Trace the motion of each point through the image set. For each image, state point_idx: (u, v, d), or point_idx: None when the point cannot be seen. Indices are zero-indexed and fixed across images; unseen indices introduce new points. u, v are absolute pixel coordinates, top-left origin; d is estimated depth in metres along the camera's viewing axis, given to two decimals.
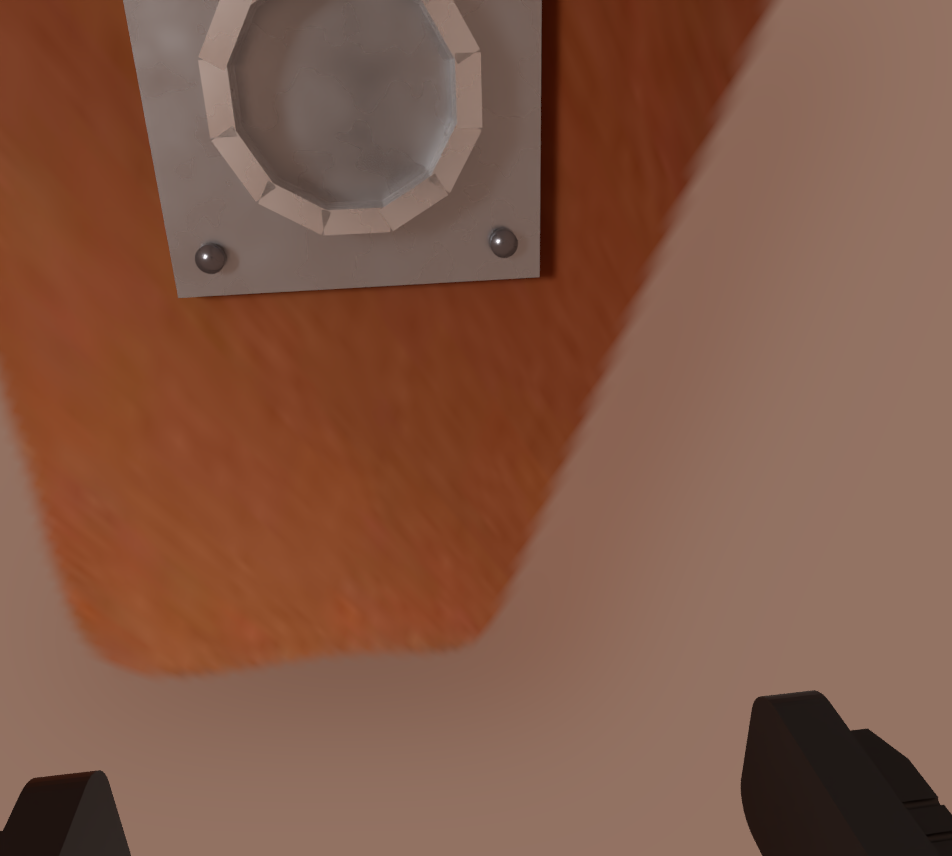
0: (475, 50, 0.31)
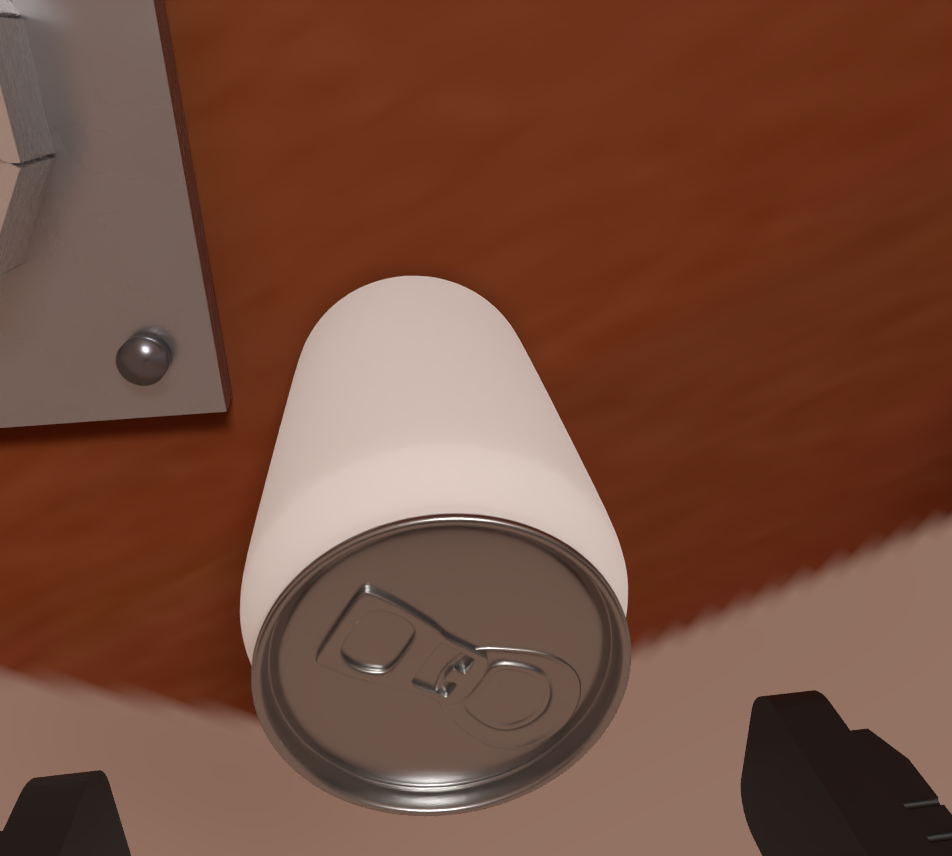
0: None
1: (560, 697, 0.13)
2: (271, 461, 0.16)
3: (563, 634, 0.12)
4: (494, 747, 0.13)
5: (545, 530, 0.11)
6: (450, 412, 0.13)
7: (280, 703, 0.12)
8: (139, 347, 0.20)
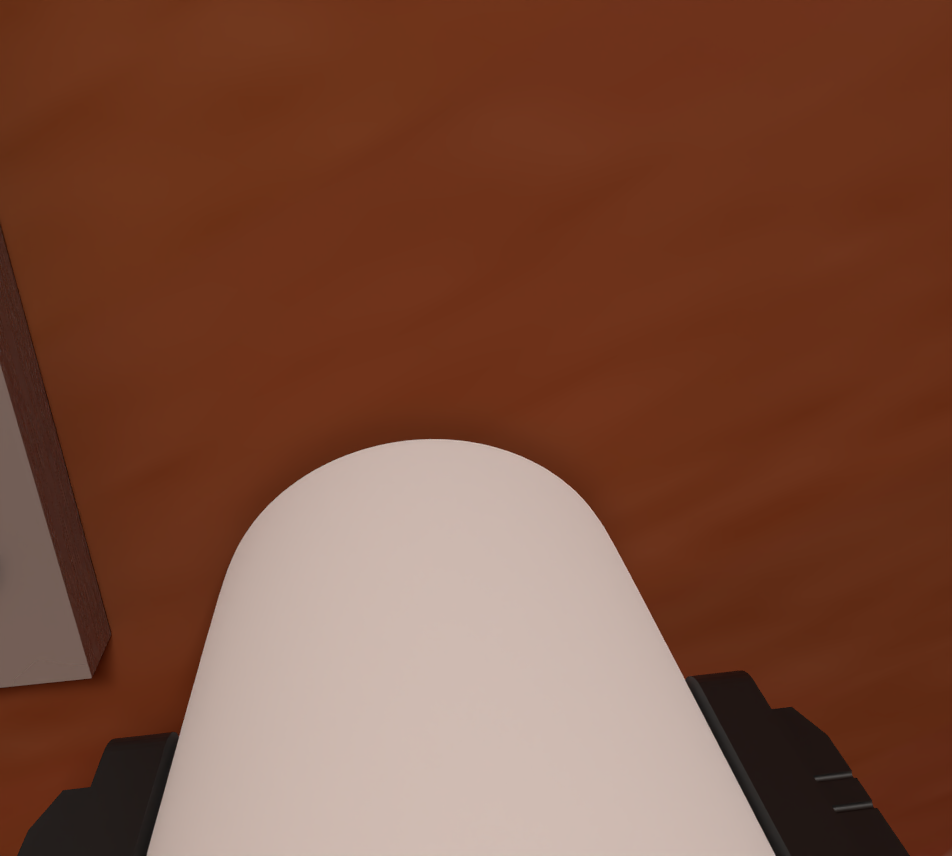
0: None
1: None
2: None
3: None
4: None
5: None
6: None
7: None
8: None
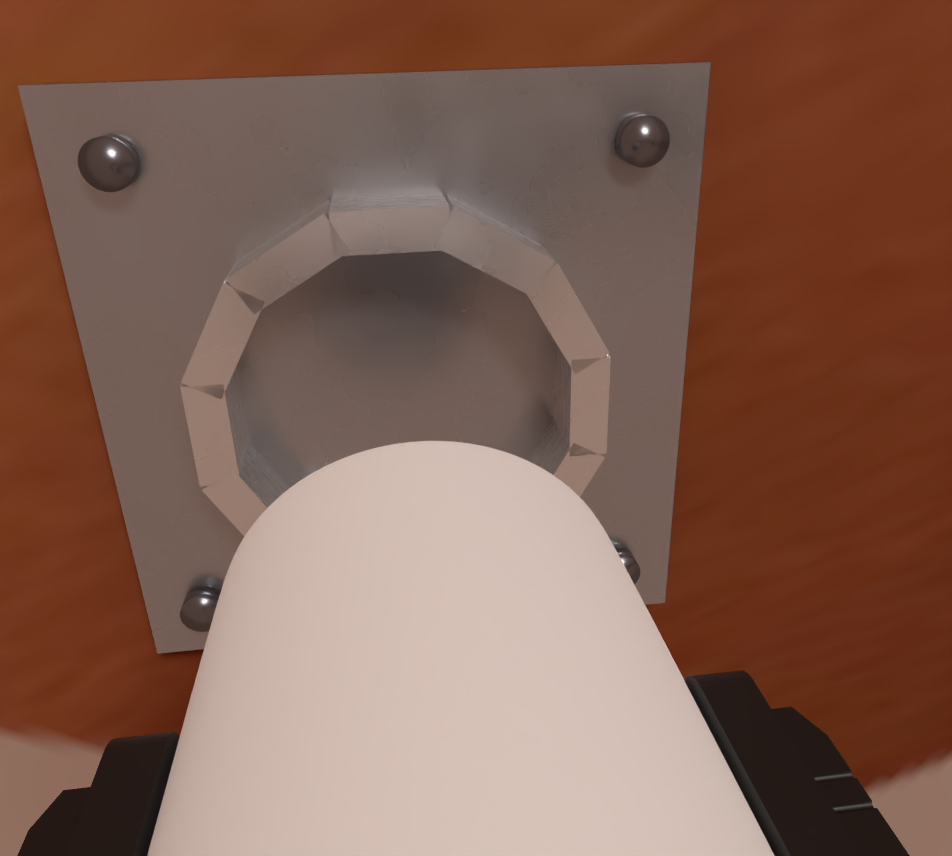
0: None
1: None
2: None
3: None
4: None
5: None
6: None
7: None
8: (623, 563, 0.25)
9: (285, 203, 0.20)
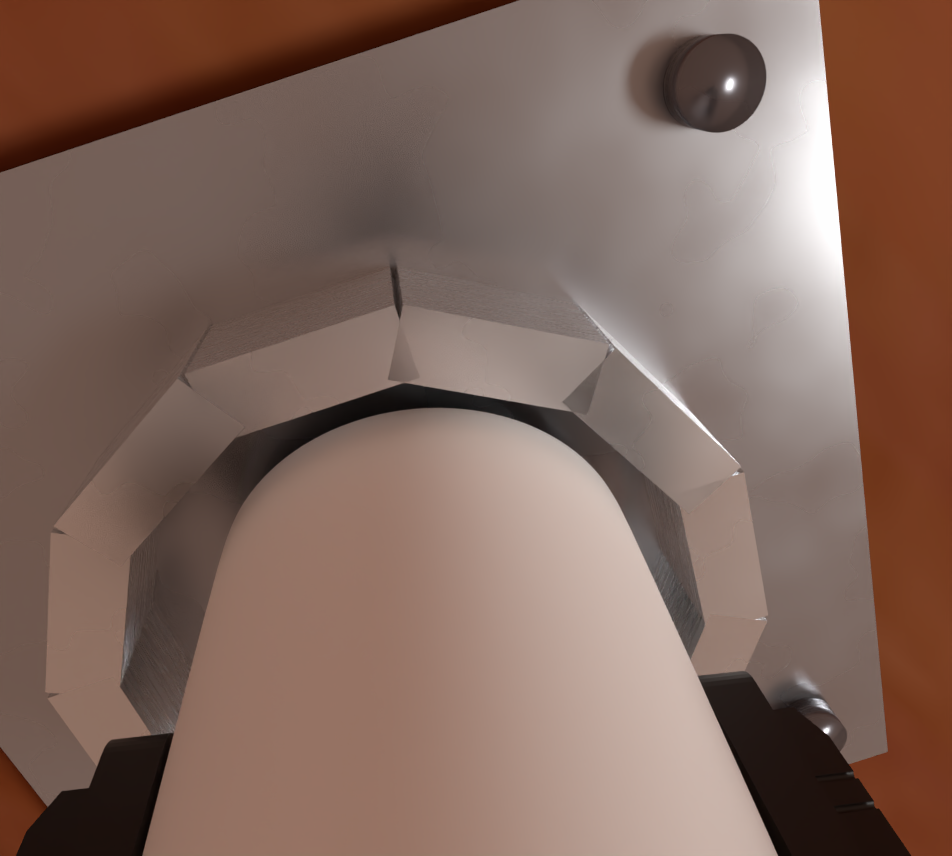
0: None
1: None
2: None
3: None
4: None
5: None
6: None
7: None
8: None
9: (675, 355, 0.13)
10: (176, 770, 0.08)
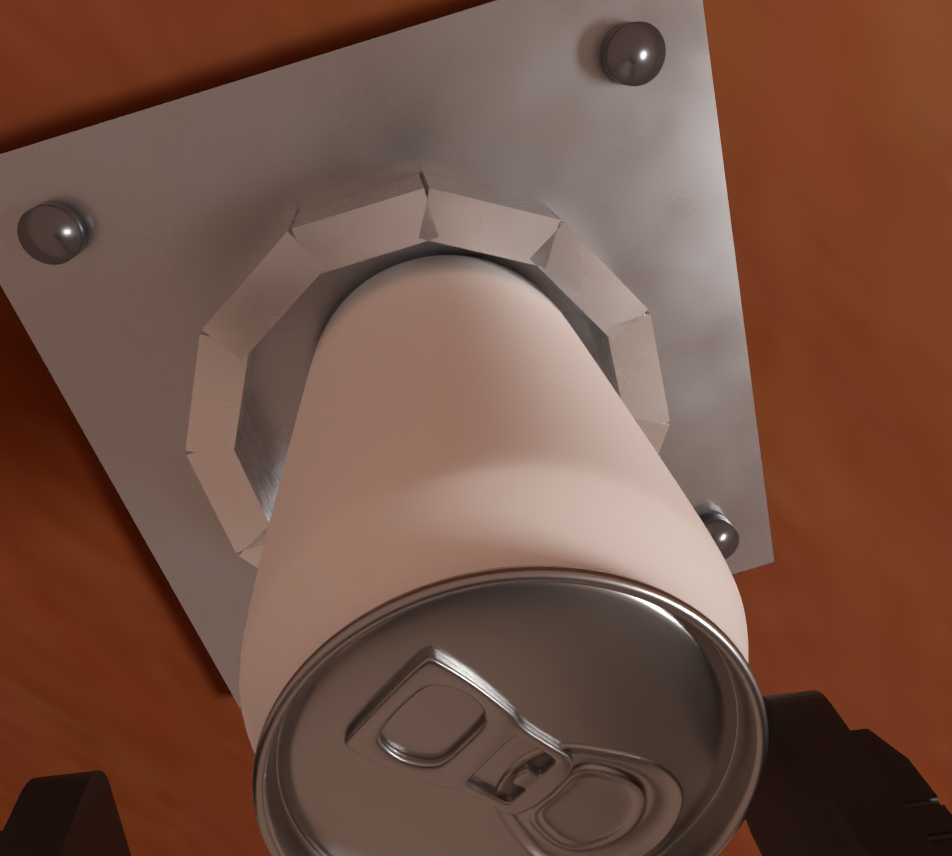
0: (245, 552, 0.19)
1: (653, 815, 0.10)
2: (291, 456, 0.12)
3: (676, 737, 0.09)
4: None
5: (684, 601, 0.08)
6: (552, 424, 0.10)
7: (285, 791, 0.09)
8: None
9: (611, 243, 0.19)
10: (315, 386, 0.14)
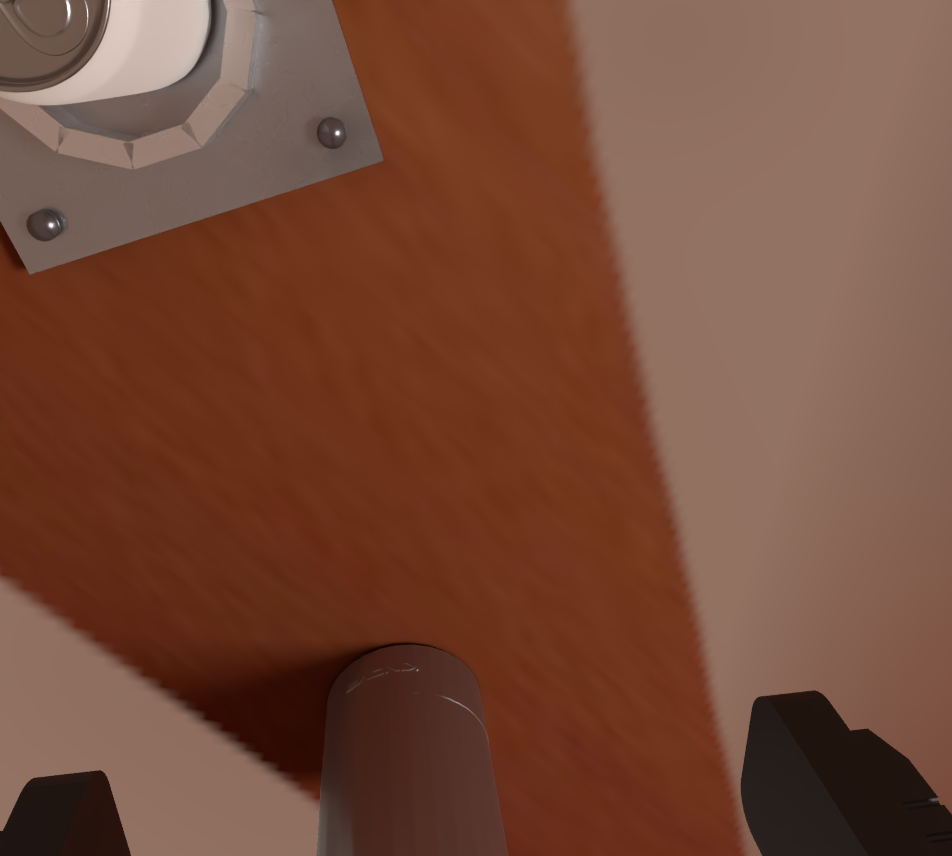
0: None
1: (76, 16, 0.21)
2: None
3: None
4: (37, 49, 0.21)
5: None
6: None
7: None
8: (51, 224, 0.33)
9: None
10: None
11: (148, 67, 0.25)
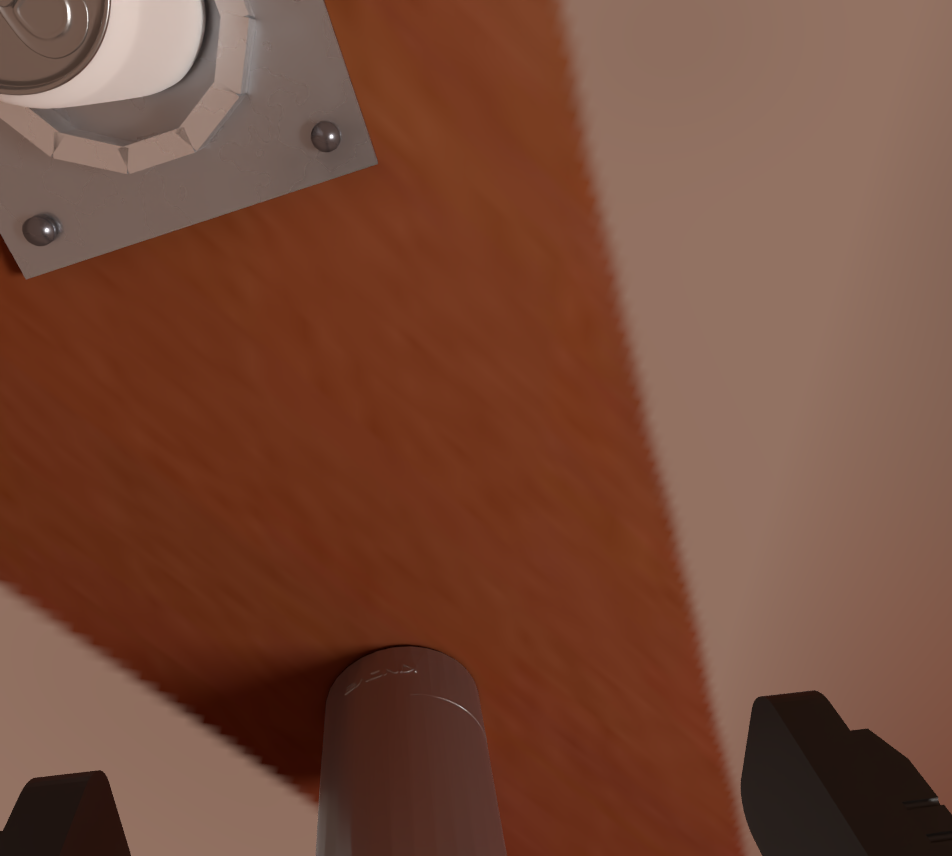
0: None
1: (76, 19, 0.21)
2: None
3: None
4: (36, 52, 0.21)
5: None
6: None
7: None
8: (47, 229, 0.33)
9: None
10: None
11: (145, 70, 0.25)
